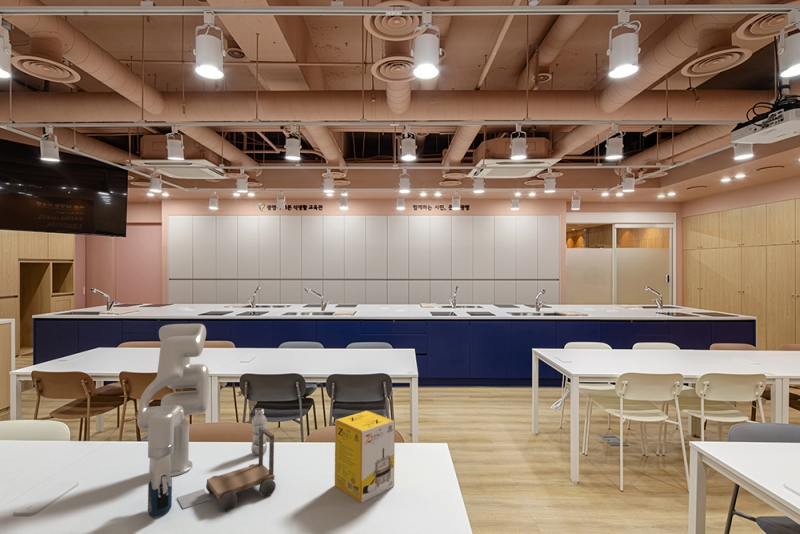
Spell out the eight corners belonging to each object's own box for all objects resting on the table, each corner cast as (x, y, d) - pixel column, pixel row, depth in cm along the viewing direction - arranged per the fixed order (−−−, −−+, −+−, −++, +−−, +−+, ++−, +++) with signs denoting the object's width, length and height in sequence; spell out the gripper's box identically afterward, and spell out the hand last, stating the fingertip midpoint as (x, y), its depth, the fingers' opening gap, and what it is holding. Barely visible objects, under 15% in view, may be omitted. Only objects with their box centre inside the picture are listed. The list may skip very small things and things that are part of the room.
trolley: (219, 514, 135) (220, 452, 136) (205, 494, 147) (206, 437, 148) (276, 493, 148) (276, 437, 149) (258, 476, 160) (259, 424, 161)
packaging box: (367, 471, 165) (367, 410, 166) (394, 486, 154) (394, 420, 154) (334, 485, 154) (335, 420, 155) (361, 502, 142) (361, 431, 143)
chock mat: (176, 498, 144) (176, 497, 144) (203, 489, 150) (203, 488, 150) (183, 509, 138) (183, 508, 138) (210, 499, 144) (210, 499, 144)
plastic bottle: (262, 457, 177) (262, 412, 177) (248, 456, 178) (248, 411, 179) (269, 451, 183) (270, 407, 184) (256, 450, 185) (256, 406, 185)
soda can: (176, 507, 139) (176, 472, 139) (162, 519, 132) (162, 482, 132) (157, 505, 140) (158, 471, 140) (142, 517, 133) (143, 481, 133)
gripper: (143, 444, 140) (142, 495, 140) (153, 462, 127) (152, 518, 127) (167, 439, 145) (166, 488, 145) (179, 455, 132) (178, 509, 132)
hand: (159, 502), depth 136 cm, fingers open, 7 cm apart
